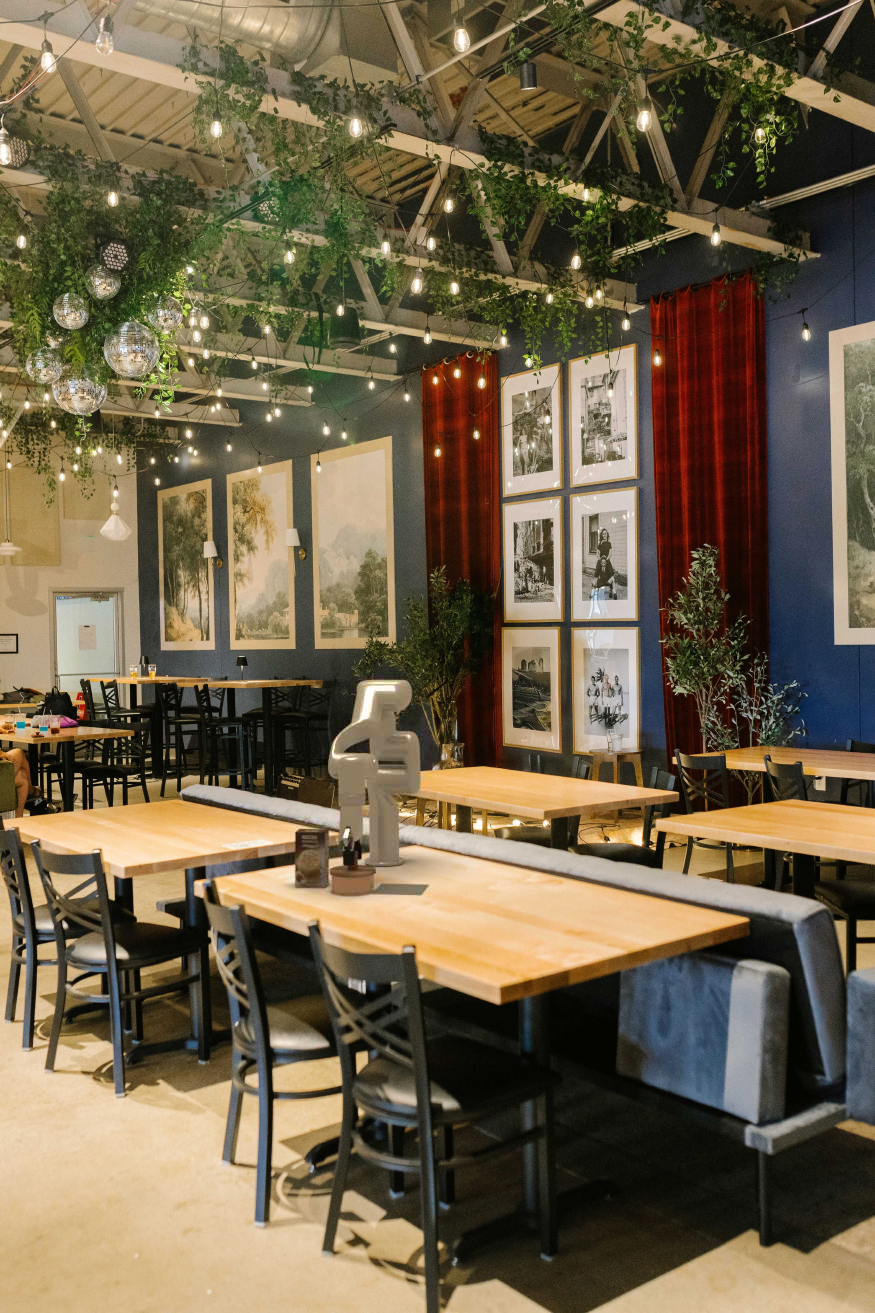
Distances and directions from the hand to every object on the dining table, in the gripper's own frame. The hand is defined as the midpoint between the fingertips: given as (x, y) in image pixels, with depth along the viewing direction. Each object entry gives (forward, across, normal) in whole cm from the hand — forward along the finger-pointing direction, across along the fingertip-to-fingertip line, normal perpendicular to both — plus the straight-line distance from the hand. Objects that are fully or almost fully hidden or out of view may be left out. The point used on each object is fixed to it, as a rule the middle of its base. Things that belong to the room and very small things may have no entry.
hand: (352, 862), depth 299 cm
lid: (+3, 0, 0) cm, 3 cm away
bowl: (+9, 0, 0) cm, 9 cm away
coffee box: (+9, -8, -14) cm, 18 cm away
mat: (+9, -4, +13) cm, 16 cm away
